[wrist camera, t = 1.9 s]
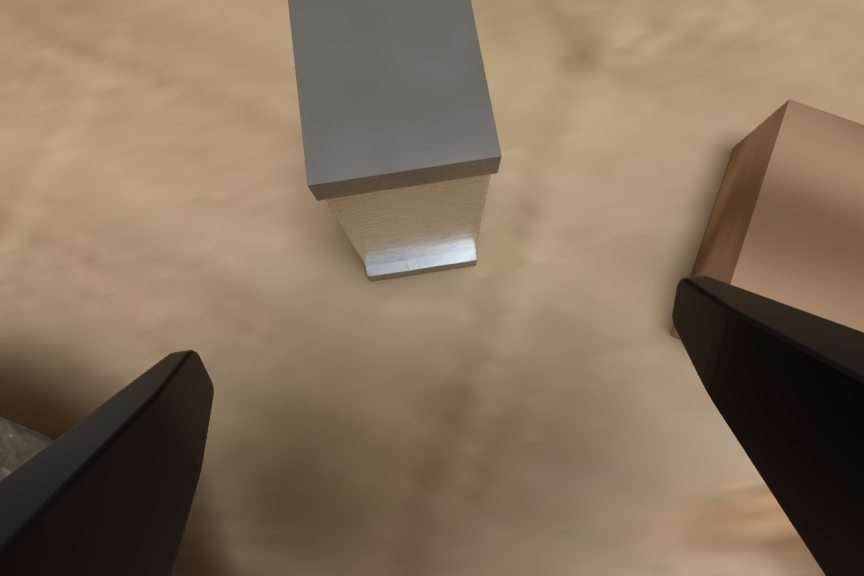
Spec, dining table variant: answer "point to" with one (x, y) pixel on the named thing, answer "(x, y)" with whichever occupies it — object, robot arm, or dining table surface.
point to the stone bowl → (18, 445)
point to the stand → (793, 215)
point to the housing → (396, 127)
